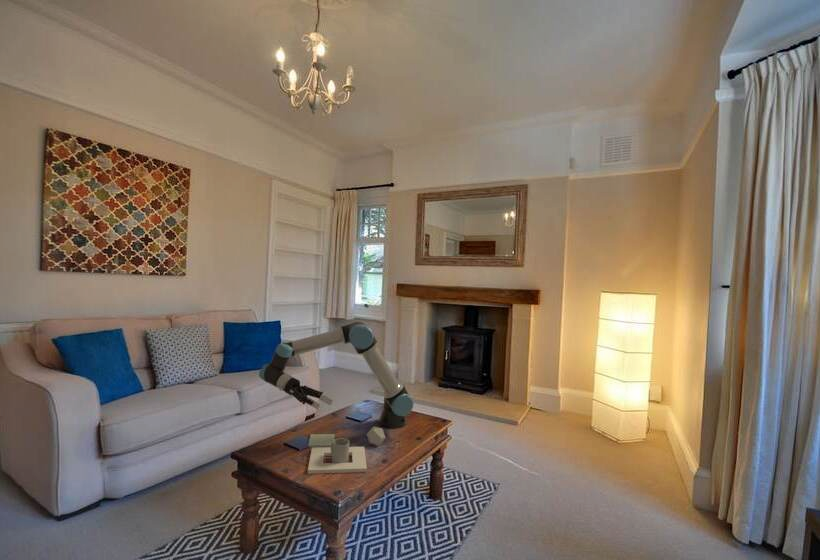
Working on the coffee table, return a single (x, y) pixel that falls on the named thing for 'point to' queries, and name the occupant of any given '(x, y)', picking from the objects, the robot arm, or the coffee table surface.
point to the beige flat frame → (320, 467)
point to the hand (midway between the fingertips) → (325, 404)
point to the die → (376, 436)
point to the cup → (340, 450)
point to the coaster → (321, 440)
